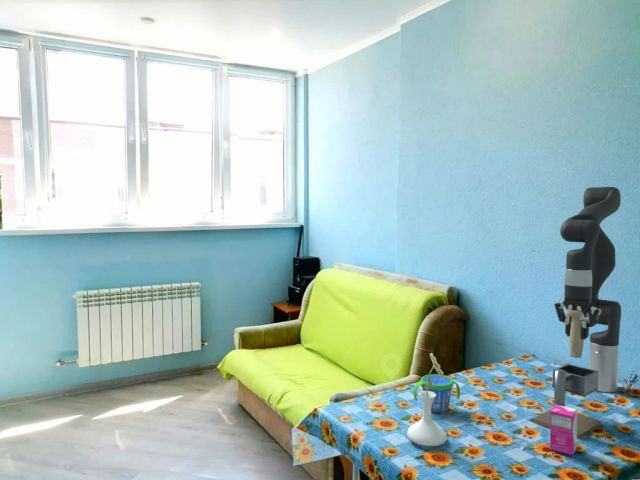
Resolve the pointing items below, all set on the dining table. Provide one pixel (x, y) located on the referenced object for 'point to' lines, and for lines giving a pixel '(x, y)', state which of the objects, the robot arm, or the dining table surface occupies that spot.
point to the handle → (576, 333)
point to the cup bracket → (576, 383)
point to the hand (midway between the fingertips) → (576, 337)
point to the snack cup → (438, 391)
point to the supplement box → (563, 430)
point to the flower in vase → (428, 417)
